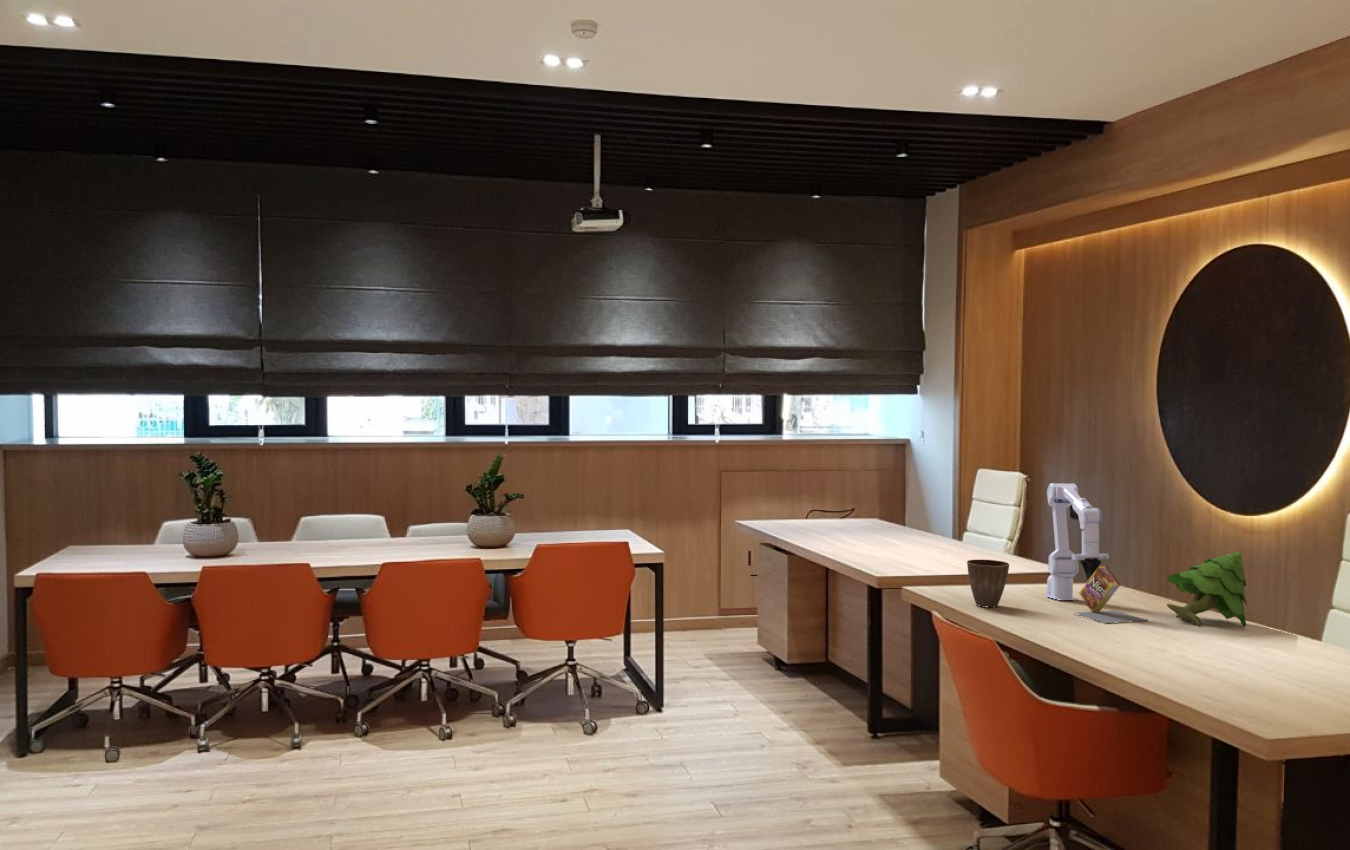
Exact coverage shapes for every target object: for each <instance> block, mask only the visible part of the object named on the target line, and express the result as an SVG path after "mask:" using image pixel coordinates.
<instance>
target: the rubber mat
mask: <svg viewBox="0 0 1350 850" xmlns="http://www.w3.org/2000/svg"><path fill="white" fill-rule="evenodd" d="M1074 613H1075V614H1076V613H1077V614H1079V615H1080V616H1083V617H1087V618H1090V619H1093V620H1096V621H1095V622H1097V621H1100V622H1103V623H1114V622H1129V621H1144V622H1149V619H1147V618H1144V617H1143V618H1142V617H1139V616H1136V615H1132V614H1130V613H1129V614H1128V613H1126V612H1125V613H1124V612H1121V611H1117V610H1101V611H1098V612H1091V611H1085V612H1084V611H1081V612H1074ZM1080 616H1079V617H1080ZM1083 617H1082V618H1083ZM1087 618H1086V619H1087ZM1090 619H1089V620H1090ZM1093 620H1092V621H1093ZM1100 622H1099V623H1100ZM1103 623H1102V624H1103ZM1129 623H1130V622H1129ZM1114 624H1115V623H1114Z"/></svg>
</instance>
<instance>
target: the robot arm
mask: <svg viewBox="0 0 1350 850" xmlns="http://www.w3.org/2000/svg"><path fill="white" fill-rule="evenodd" d="M1046 495H1047V503H1048V506H1050V507H1051V509H1052V512H1051V513H1052V522H1053V533H1054V535H1053V536H1054V546H1055V550H1054V551H1052V552H1051V553H1050V554H1049V555H1048V562H1047V563H1048V564H1047V570H1048V573H1049V574H1050V575H1049V576H1048V577H1047V581H1046V595H1045V596H1046V597H1045V598H1048V597H1050V598H1049V599H1051V598H1054V599H1053V600H1055V599H1057V600H1056V601H1058V600H1059V599H1061V600H1073V601H1077V600H1076V599H1077V598H1076V597H1074V595H1073V594H1074V593H1073V591H1074V590H1073V589H1074V588H1073V587H1074V578H1075V577H1076V575H1077V574H1078V573H1079V562H1080V564H1081V566H1082V568H1083V570H1084V573H1085V576H1086V580H1087V581H1088V580H1089V579H1090V577H1091V576H1092V575H1093V573H1094V572H1095V571H1096V569H1097V568H1098V567H1099V566H1101V564H1102V560H1109V559H1110V554H1109V553H1100V537H1099V536H1100V532H1099V531H1100V529H1099V528H1100V524H1101V523H1102V520H1103V518H1102V517H1103V515H1102V511H1101V510H1100V509H1101V508H1099V507H1093V506H1092V505H1091V503H1090V502H1089V501H1088V500H1087V499H1086V498H1085V497H1081V496H1080V494H1079V488H1078V486H1077V484H1076V483H1074V482H1073V483H1054V482H1052V483H1051V482H1050V484H1049V485H1048V487H1047V490H1046ZM1069 506H1072V509H1073V511H1074V512H1075V513H1076V514H1077V516H1078V521H1079V528H1080V529H1081V553H1074V552H1073V551H1072V550H1070V541H1069V531H1068V520H1067V519H1068V518H1067V508H1069ZM1078 561H1079V562H1078Z"/></svg>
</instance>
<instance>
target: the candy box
mask: <svg viewBox="0 0 1350 850" xmlns="http://www.w3.org/2000/svg"><path fill="white" fill-rule="evenodd" d="M1120 587H1121V583H1120V582H1119V580H1118V579H1117V578H1116V576H1115V575H1114V574H1113V572H1112V571H1111V570H1110V568H1109V566H1108V565H1099V567H1098V568H1097V569H1096V571H1095V572H1094V573H1093V575H1092V576H1091V577H1090V579H1089V580H1087V582H1085V584H1084V586H1083V587H1082V588H1081V589H1080V591H1079V593H1078V594H1079V596H1080V597H1081V598H1082V600H1083V601H1084V603H1085V604H1086V606H1087V607H1088V609H1089V610H1090V612H1098V611H1102V609H1103V608H1104V607H1105V605H1106V604H1107V603H1108V602H1109V601H1110V599H1111V598H1112V597H1113V595H1114V594H1115V593H1116V592H1117V591H1118V589H1119V588H1120Z"/></svg>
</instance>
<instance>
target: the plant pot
mask: <svg viewBox="0 0 1350 850" xmlns="http://www.w3.org/2000/svg"><path fill="white" fill-rule="evenodd" d="M966 565H967V573H968V581H969V584H970V589H971V592H972V596H973V599H974V602H975V605H976V604H977V605H981V606H988V607H994V606H997V607H998V606H999V604H1000V601H1001V598H1002V595H1003V593H1004V590H1005V586H1006V583H1007V581H1008V580H1007V579H1008V575H1009V569H1010V563H1009V562H1007V561H1002V560H994V559H970V560H969V559H968V560H967V561H966ZM977 605H976V606H977Z"/></svg>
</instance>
